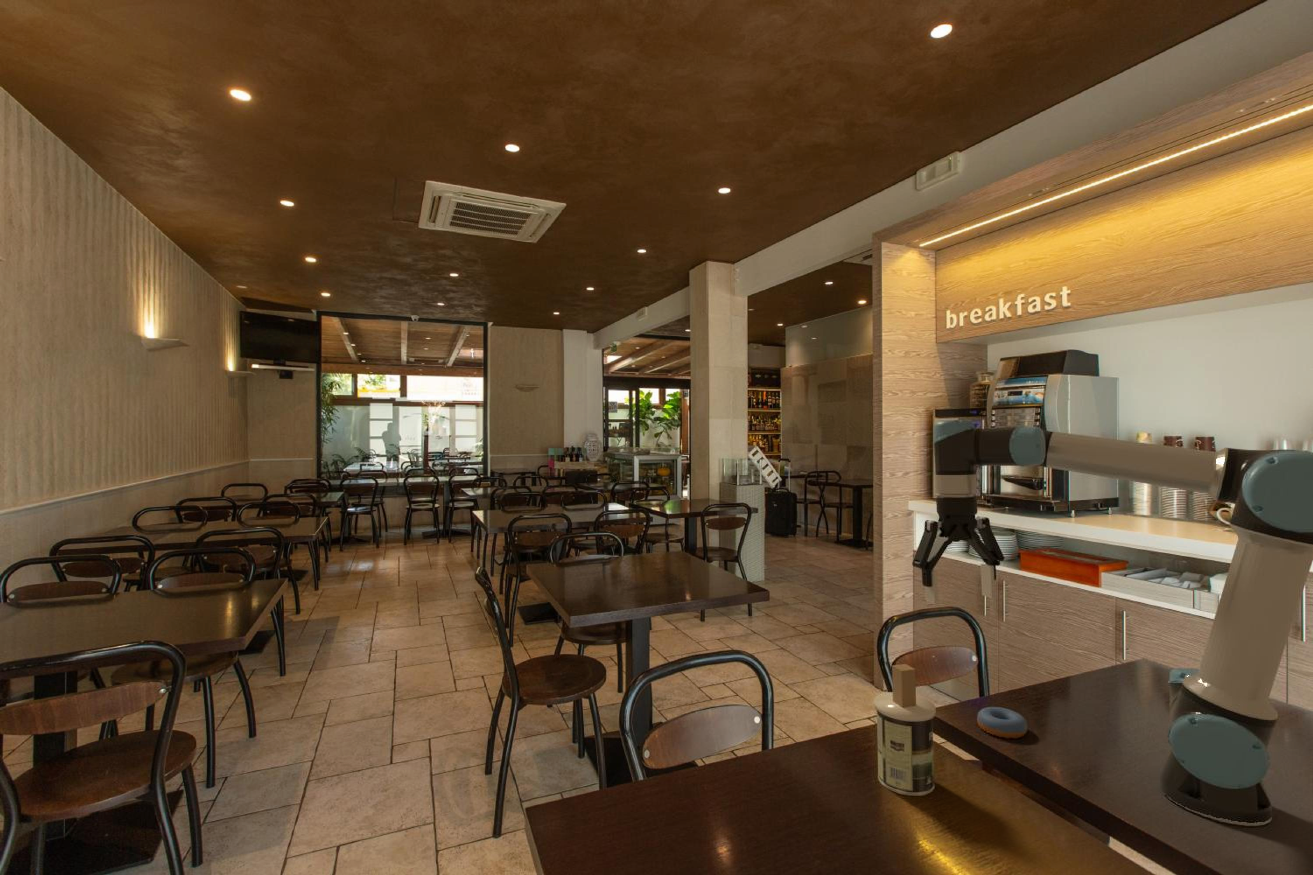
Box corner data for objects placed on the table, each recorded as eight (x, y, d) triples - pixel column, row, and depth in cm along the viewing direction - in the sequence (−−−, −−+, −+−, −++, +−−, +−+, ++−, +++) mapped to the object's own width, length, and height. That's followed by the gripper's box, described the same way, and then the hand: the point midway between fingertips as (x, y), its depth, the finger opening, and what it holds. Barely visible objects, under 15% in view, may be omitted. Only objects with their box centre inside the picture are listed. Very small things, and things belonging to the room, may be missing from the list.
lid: (911, 694, 127) (910, 655, 127) (948, 717, 116) (947, 674, 116) (863, 700, 124) (862, 660, 124) (896, 724, 114) (895, 680, 114)
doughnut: (1039, 736, 137) (1036, 714, 137) (1002, 745, 134) (999, 723, 135) (1003, 721, 147) (1001, 701, 147) (968, 729, 144) (965, 708, 144)
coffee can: (927, 769, 124) (926, 699, 124) (940, 799, 114) (939, 722, 114) (873, 765, 126) (872, 695, 126) (881, 793, 116) (880, 718, 116)
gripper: (992, 491, 134) (996, 590, 133) (891, 497, 128) (895, 600, 127) (1021, 493, 127) (1025, 597, 126) (915, 499, 120) (919, 609, 120)
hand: (960, 599), depth 127 cm, fingers open, 13 cm apart
